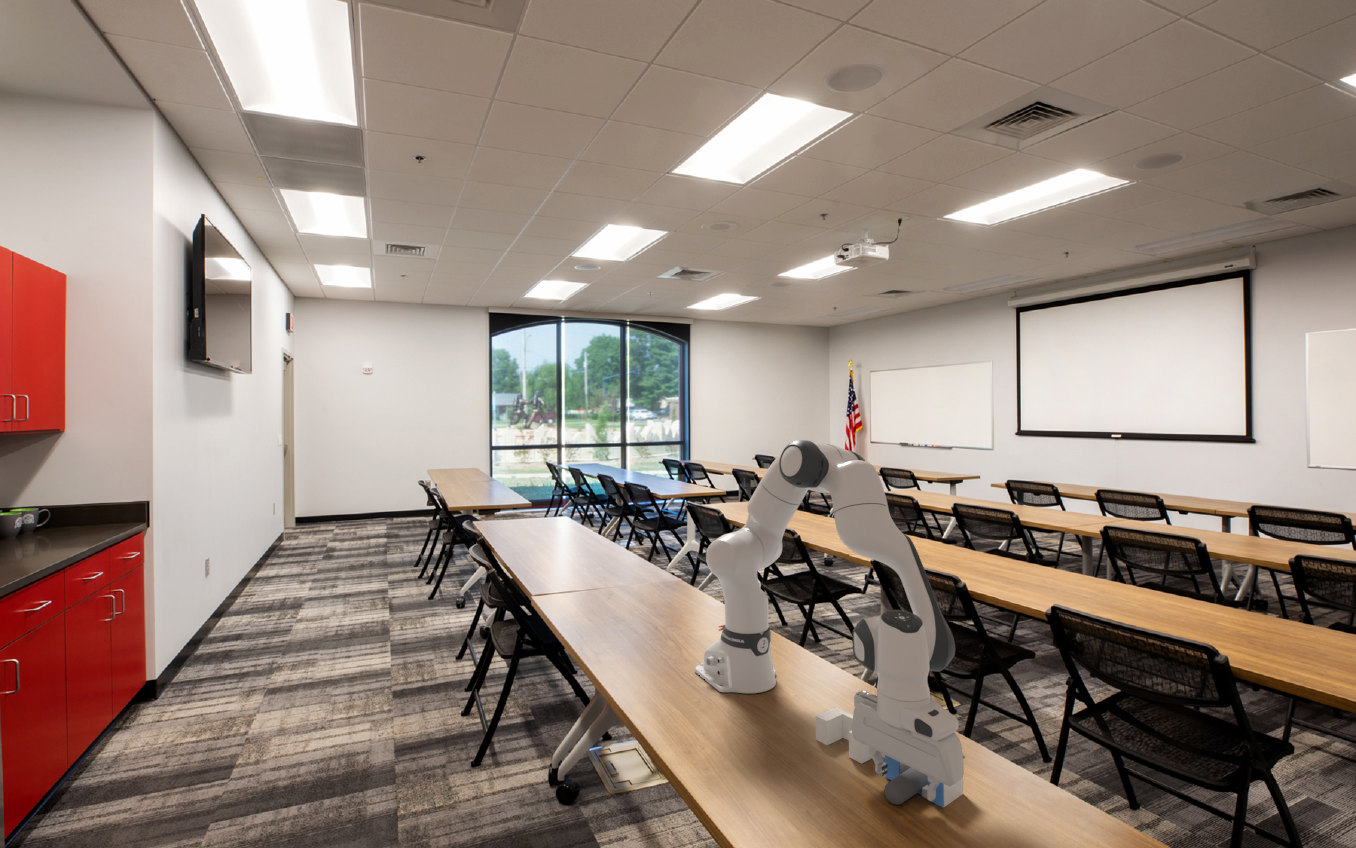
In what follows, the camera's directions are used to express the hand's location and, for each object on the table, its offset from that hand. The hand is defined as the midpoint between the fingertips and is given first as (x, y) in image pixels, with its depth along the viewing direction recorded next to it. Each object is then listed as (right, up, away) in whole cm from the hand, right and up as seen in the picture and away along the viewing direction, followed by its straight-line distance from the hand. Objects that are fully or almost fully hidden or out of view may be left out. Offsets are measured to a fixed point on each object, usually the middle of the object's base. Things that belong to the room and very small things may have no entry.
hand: (904, 785), depth 108 cm
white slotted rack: (0, -2, +10) cm, 11 cm away
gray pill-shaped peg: (+1, -2, +1) cm, 2 cm away
